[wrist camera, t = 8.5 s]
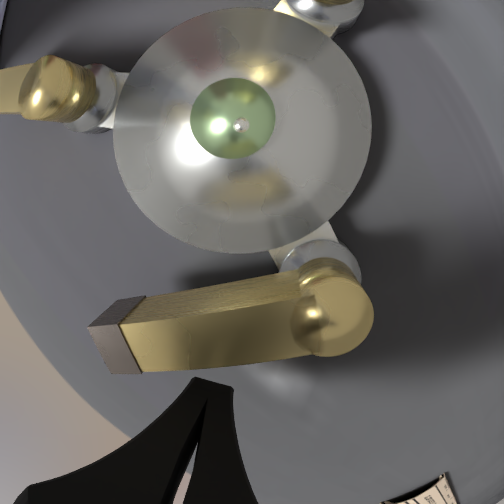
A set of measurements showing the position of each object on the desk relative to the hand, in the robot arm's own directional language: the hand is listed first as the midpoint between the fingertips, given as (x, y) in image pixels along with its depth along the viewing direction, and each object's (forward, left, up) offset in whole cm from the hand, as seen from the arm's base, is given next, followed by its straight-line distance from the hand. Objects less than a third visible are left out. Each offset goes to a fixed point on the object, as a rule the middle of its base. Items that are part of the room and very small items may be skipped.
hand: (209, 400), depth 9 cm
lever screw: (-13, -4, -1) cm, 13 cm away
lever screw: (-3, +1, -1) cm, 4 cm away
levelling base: (-8, +3, -2) cm, 9 cm away
